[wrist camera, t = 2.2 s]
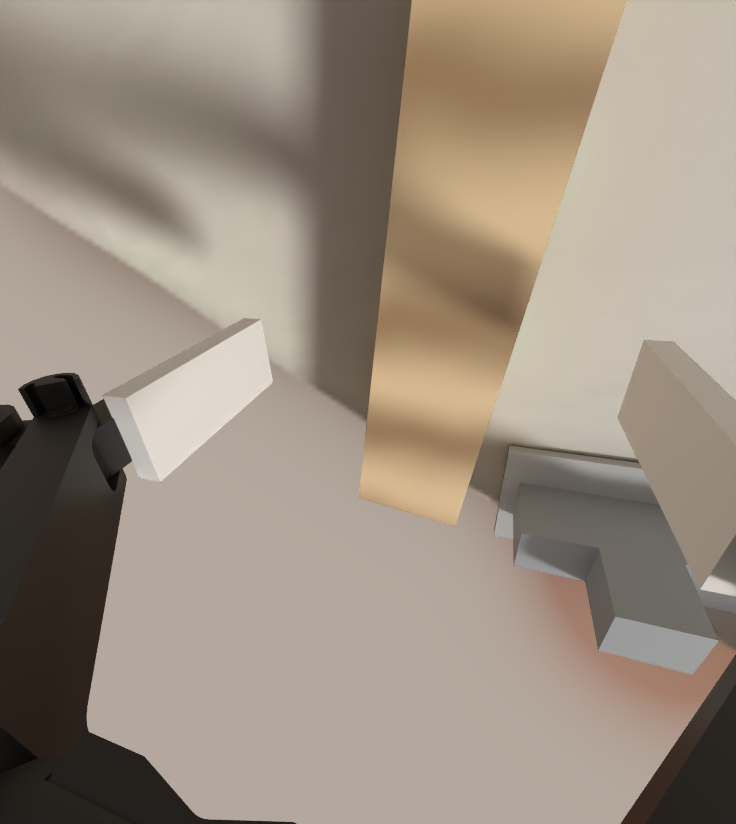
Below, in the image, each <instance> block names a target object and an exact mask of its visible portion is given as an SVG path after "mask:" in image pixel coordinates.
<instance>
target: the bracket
mask: <svg viewBox="0 0 736 824" xmlns="http://www.w3.org/2000/svg"><path fill="white" fill-rule="evenodd" d="M494 536H498V537H504V538H509V539H513V550H514V566H515V567H520V568H524V569H529V570H534V571H538V572H543V573H548V574H553V575H557V576H561V577H567V578H571V579H575V580H580V581H585V582H586V588H587V593H588V598H589V603H590V609H591V614H592V619H593V625H594V630H595V636H596V641H597V646H598V650H599V651H603V652H607V653H611V654H615V655H619V656H622V657H626V658H630V659H634V660H638V661H642V662H646V663H650V664H654V665H658V666H661V667H665V668H669V669H673V670H677V671H680V672H685V673H688V674H693V673H694V671H695V670H696V669H697V668H698V666H699V665H700V664H701V663H702V661H703V660H704V659H705V658H706V656H707V655H708V654H709V653H710V651H711V650H712V649H713V648H714V646H715V645H716V644H717V643H718V642H719V639H718V637H717V635H716V632H715V630H714V628H713V626H712V623H711V621H710V619H709V617H708V614H707V612H706V610H705V608H710V609H715V610H719V611H724V612H729V613H733V614H736V596H731V595H726V594H721V593H716V592H711V591H706V590H701V589H700V588H699V586H698V584H697V582H696V580H695V578H694V576H693V573H692V571H691V569H690V567H689V565H688V563H687V561H686V559H685V557H684V555H683V553H682V551H681V549H680V546H679V544H678V542H677V540H676V538H675V536H674V534H673V532H672V530H671V528H670V526H669V524H668V521H667V519H666V517H665V515H664V513H663V511H662V509H661V507H660V505H659V503H658V501H657V499H656V497H655V494H654V492H653V490H652V488H651V486H650V484H649V482H648V480H647V478H646V476H645V474H644V472H643V470H642V467H641V465H640V463H637V462H629V461H622V460H614V459H607V458H599V457H592V456H584V455H577V454H569V453H562V452H554V451H547V450H540V449H532V448H525V447H517V446H510V445H509V451H508V456H507V462H506V467H505V473H504V478H503V484H502V489H501V495H500V500H499V506H498V511H497V517H496V523H495V528H494ZM704 607H705V608H704Z"/></svg>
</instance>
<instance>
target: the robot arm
mask: <svg viewBox="0 0 736 824" xmlns="http://www.w3.org/2000/svg"><path fill="white" fill-rule="evenodd" d="M271 383H273V380H272V375H271V369H270V364H269V358H268V353H267V348H266V342H265V337H264V332H263V326H262V321H261V319H247V318H244V319H242V320H240V321H238V322H237V323H235V324H233V325H231V326H229V327H227V328H226V329H224V330H222V331H220V332H218V333H216V334H214V335H213V336H211V337H209V338H207V339H205V340H203V341H202V342H200V343H198V344H196V345H194V346H192V347H190V348H189V349H187V350H185V351H183V352H181V353H180V354H177V355H176V356H174V357H172V358H170V359H168V360H166V361H165V362H163V363H161V364H159V365H158V366H155V367H153V368H152V369H150V370H148V371H146V372H144V373H143V374H140V375H139V376H137V377H135V378H133V379H131V380H129V381H128V382H126V383H124V384H122V385H120V386H118V387H117V388H115V389H113V390H111V391H109V392H107V393H105V394H104V395H103V398H104V399H103V400H101V401H99V402H98V403H96V404H94V405H92V402H91V400H90V398H89V396H88V394H87V392H86V390H85V388H84V386H83V383H82V381H81V379H80V377H79V375H77V374H75V373H61V374H54V375H50V376H45V377H42V378H39V379H36V380H33V381H31V382H29V383H27V384H24V385H23V386H22V387H20V388H19V389H18V390H19V391H20V393H21V395H22V397H23V399H24V400H25V402H26V404H27V406H28V408H29V409H30V411H31V413H32V415H33V416H34V418H33V420H25V421H22V419H21V418H20V416H19V414H18V413H17V411H16V409H15V408H14V406H11V405H0V824H296V823H294V822H271V821H239V820H236V821H235V820H208V819H203V818H200V817H198V816H196V815H195V814H194V813H193V812H192V811H191V810H190V809H189V807H188V806H187V805H186V804H185V803H184V802H183V801H182V799H181V798H180V797H179V796H178V795H177V794H176V792H175V791H174V790H173V789H172V788H171V787H170V786H169V784H168V783H167V782H166V781H165V780H164V779H163V777H162V776H161V775H160V774H159V773H158V772H157V771H156V769H155V768H154V767H153V766H152V765H151V764H150V762H149V761H148V760H147V759H146V758H145V757H144V756H142V755H140V754H137V753H135V752H133V751H131V750H128V749H126V748H124V747H122V746H119V745H117V744H115V743H112V742H110V741H108V740H106V739H103V738H101V737H99V736H96V735H94V734H92V733H90V732H89V731H88V728H87V718H86V715H87V705H88V699H89V694H90V688H91V682H92V676H93V671H94V664H95V659H96V653H97V647H98V642H99V636H100V630H101V624H102V619H103V613H104V607H105V602H106V596H107V590H108V584H109V579H110V573H111V566H112V561H113V556H114V550H115V544H116V538H117V533H118V526H119V521H120V515H121V509H122V504H123V498H124V492H125V487H126V481H127V479H126V475H125V473H124V471H123V469H122V468H123V467H125V466H126V465H127V464H129V463H130V462H131V461H132V463H133V465H134V467H135V469H136V471H137V474H138V476H139V478H143V479H148V480H153V481H158V482H161V481H162V480H163V479H164V478H165V477H166V476H168V475H169V474H170V473H171V472H172V471H173V470H174V469H175V468H177V467H178V466H179V465H180V464H181V463H182V462H183V461H185V460H186V459H187V458H188V457H189V456H190V455H191V454H192V453H194V452H195V451H196V450H197V449H198V448H199V447H200V446H201V445H202V444H204V443H205V442H206V441H207V440H208V439H209V438H210V437H212V436H213V435H214V434H215V433H216V432H217V431H218V430H219V429H220V428H222V427H223V426H224V425H225V424H226V423H227V422H229V421H230V420H231V419H232V418H233V417H234V416H235V415H236V414H238V413H239V412H240V411H241V410H242V409H243V408H244V407H245V406H247V405H248V404H249V403H250V402H251V401H252V400H253V399H255V397H257V396H258V395H259V394H260V393H261V392H262V391H264V390H265V388H267V387H268V386H269V385H270V384H271ZM618 420H619V422H620V424H621V426H622V428H623V430H624V432H625V434H626V436H627V438H628V440H629V443H630V445H631V447H632V449H633V451H634V453H635V455H636V457H637V459H638V461H639V463H640V465H641V467H642V470H643V472H644V474H645V476H646V478H647V480H648V482H649V484H650V486H651V488H652V490H653V492H654V494H655V497H656V499H657V501H658V503H659V505H660V507H661V509H662V511H663V513H664V515H665V517H666V519H667V521H668V524H669V526H670V528H671V530H672V532H673V534H674V536H675V538H676V540H677V542H678V544H679V546H680V549H681V551H682V553H683V555H684V557H685V559H686V561H687V563H688V565H689V567H690V569H691V571H692V573H693V576H694V578H695V580H696V582H697V584H698V586H699V588H700V589H701V590H706V591H711V592H716V593H721V594H726V595H731V596H736V400H735V399H733V398H732V397H731V396H730V395H729V394H728V393H727V392H726V391H725V390H724V389H723V388H722V387H721V386H720V385H719V384H718V383H717V382H716V381H715V380H714V379H712V378H711V377H710V376H709V375H708V374H707V373H706V372H705V371H704V370H703V369H702V368H701V367H700V366H699V365H698V364H697V363H696V362H695V361H694V360H693V359H691V358H690V357H689V356H688V355H687V354H686V353H685V352H684V351H683V350H682V349H681V348H680V347H679V346H678V345H677V344H676V343H675V342H672V341H654V340H644V342H643V344H642V347H641V350H640V353H639V356H638V359H637V362H636V365H635V368H634V371H633V374H632V377H631V380H630V383H629V386H628V388H627V391H626V394H625V397H624V400H623V403H622V406H621V409H620V412H619V415H618ZM621 824H736V655H735V657H734V658H733V659H732V661H731V662H730V664H729V665H728V667H727V668H726V670H725V671H724V673H723V674H722V676H721V677H720V679H719V680H718V681H717V683H716V684H715V686H714V687H713V689H712V690H711V692H710V693H709V695H708V696H707V698H706V699H705V701H704V702H703V703H702V705H701V706H700V708H699V709H698V711H697V712H696V714H695V715H694V717H693V718H692V720H691V721H690V723H689V724H688V726H687V727H686V728H685V730H684V731H683V733H682V734H681V736H680V737H679V739H678V740H677V742H676V743H675V745H674V746H673V748H672V749H671V750H670V752H669V753H668V755H667V756H666V758H665V759H664V761H663V762H662V764H661V765H660V767H659V768H658V769H657V771H656V772H655V774H654V775H653V777H652V778H651V780H650V781H649V783H648V784H647V786H646V787H645V789H644V790H643V791H642V793H641V794H640V796H639V797H638V799H637V800H636V802H635V803H634V805H633V806H632V808H631V809H630V811H629V812H628V813H627V815H626V816H625V818H624V819H623V821H622V822H621Z"/></svg>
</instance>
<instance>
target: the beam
mask: <svg viewBox="0 0 736 824" xmlns="http://www.w3.org/2000/svg"><path fill="white" fill-rule="evenodd" d="M626 1H627V0H412V3H411V12H410V21H409V31H408V40H407V50H406V59H405V68H404V78H403V87H402V97H401V106H400V115H399V125H398V134H397V144H396V153H395V162H394V172H393V181H392V191H391V200H390V209H389V219H388V228H387V237H386V247H385V256H384V266H383V275H382V284H381V294H380V303H379V313H378V322H377V331H376V341H375V350H374V360H373V369H372V378H371V388H370V397H369V407H368V416H367V425H366V436H365V444H364V454H363V463H362V472H361V483H360V491H359V498H361V499H364V500H368V501H371V502H374V503H378V504H381V505H384V506H388V507H391V508H395V509H398V510H401V511H405V512H408V513H411V514H415V515H419V516H422V517H425V518H428V519H432V520H435V521H438V522H442V523H445V524H448V525H452V526H456V523H457V520H458V516H459V513H460V510H461V507H462V504H463V501H464V498H465V495H466V492H467V489H468V486H469V483H470V480H471V477H472V473H473V470H474V467H475V464H476V461H477V458H478V455H479V452H480V449H481V446H482V443H483V440H484V437H485V434H486V431H487V427H488V424H489V421H490V418H491V415H492V412H493V409H494V406H495V403H496V400H497V397H498V394H499V391H500V388H501V385H502V381H503V378H504V375H505V372H506V369H507V366H508V363H509V360H510V357H511V354H512V351H513V348H514V345H515V342H516V339H517V335H518V332H519V329H520V326H521V323H522V320H523V317H524V314H525V311H526V308H527V305H528V302H529V299H530V296H531V292H532V289H533V286H534V283H535V280H536V277H537V274H538V271H539V268H540V265H541V262H542V259H543V256H544V253H545V250H546V246H547V243H548V240H549V237H550V234H551V231H552V228H553V225H554V222H555V219H556V216H557V213H558V210H559V207H560V204H561V200H562V197H563V194H564V191H565V188H566V185H567V182H568V179H569V176H570V173H571V170H572V167H573V164H574V161H575V157H576V154H577V151H578V148H579V145H580V142H581V139H582V136H583V133H584V130H585V127H586V124H587V121H588V118H589V115H590V111H591V108H592V105H593V102H594V99H595V96H596V93H597V90H598V87H599V84H600V81H601V78H602V75H603V72H604V69H605V65H606V62H607V59H608V56H609V53H610V50H611V47H612V44H613V41H614V38H615V35H616V32H617V29H618V26H619V22H620V19H621V16H622V13H623V10H624V7H625V4H626Z"/></svg>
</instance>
